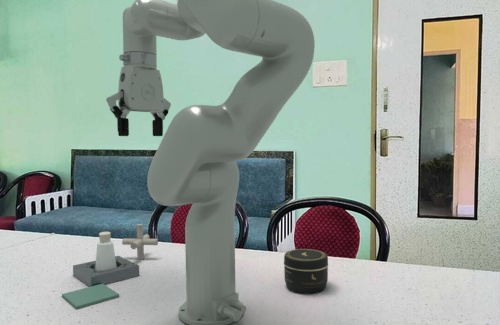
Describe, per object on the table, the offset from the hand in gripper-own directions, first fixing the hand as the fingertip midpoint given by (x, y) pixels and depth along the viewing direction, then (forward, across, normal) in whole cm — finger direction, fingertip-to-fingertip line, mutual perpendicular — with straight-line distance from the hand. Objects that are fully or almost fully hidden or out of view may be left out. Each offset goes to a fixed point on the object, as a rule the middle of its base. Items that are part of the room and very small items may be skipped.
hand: (141, 136), depth 92 cm
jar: (+35, +20, -34) cm, 52 cm away
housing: (+35, -4, +10) cm, 37 cm away
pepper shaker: (+36, -4, +10) cm, 37 cm away
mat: (+35, -13, +1) cm, 37 cm away
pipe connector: (+36, +10, +15) cm, 40 cm away
